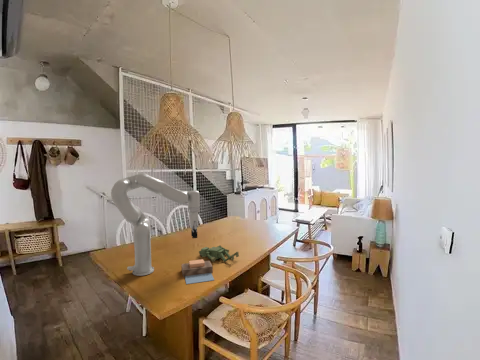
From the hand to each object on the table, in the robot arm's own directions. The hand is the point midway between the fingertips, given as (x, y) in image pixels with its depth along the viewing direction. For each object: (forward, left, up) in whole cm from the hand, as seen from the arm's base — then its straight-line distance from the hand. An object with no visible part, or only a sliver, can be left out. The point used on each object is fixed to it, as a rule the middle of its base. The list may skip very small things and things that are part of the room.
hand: (194, 236), depth 168 cm
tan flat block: (0, -9, -15) cm, 18 cm away
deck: (0, -10, -19) cm, 22 cm away
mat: (0, -20, -19) cm, 28 cm away
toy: (+17, +8, -20) cm, 27 cm away
